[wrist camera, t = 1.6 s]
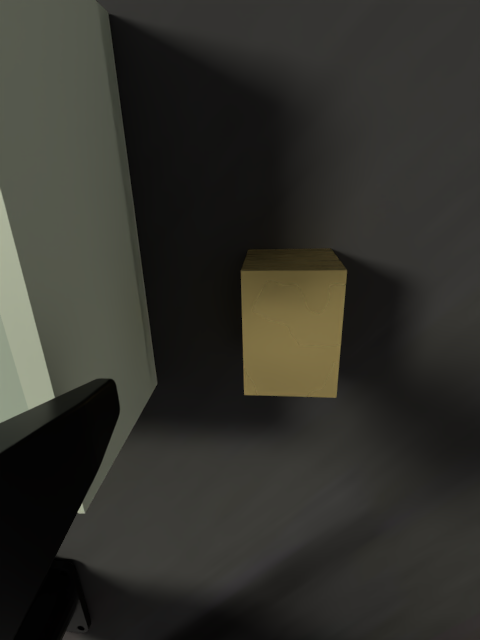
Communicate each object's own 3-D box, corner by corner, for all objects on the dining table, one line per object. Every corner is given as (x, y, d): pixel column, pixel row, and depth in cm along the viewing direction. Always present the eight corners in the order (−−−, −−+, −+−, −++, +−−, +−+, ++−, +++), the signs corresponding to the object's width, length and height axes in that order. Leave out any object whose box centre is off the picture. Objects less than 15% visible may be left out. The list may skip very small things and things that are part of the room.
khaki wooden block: (323, 351, 16) (336, 397, 12) (250, 350, 16) (244, 395, 13) (330, 248, 14) (347, 270, 11) (248, 249, 14) (240, 270, 11)
